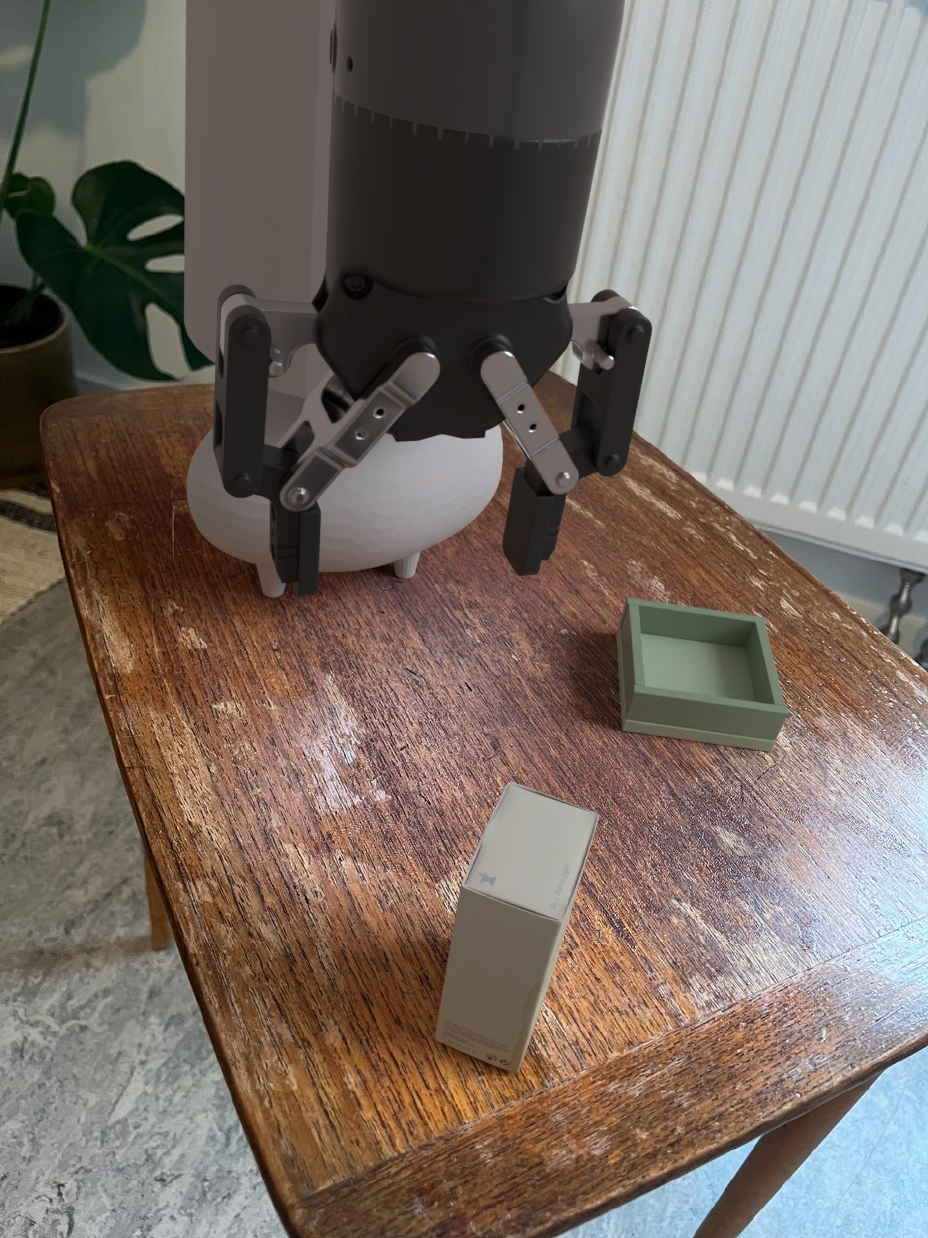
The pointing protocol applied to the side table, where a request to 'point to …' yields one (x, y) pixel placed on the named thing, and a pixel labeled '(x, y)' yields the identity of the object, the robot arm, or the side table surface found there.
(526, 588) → the side table surface
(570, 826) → the cosmetic box
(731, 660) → the green open storage bin
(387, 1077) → the side table surface
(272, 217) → the table lamp
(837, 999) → the side table surface
